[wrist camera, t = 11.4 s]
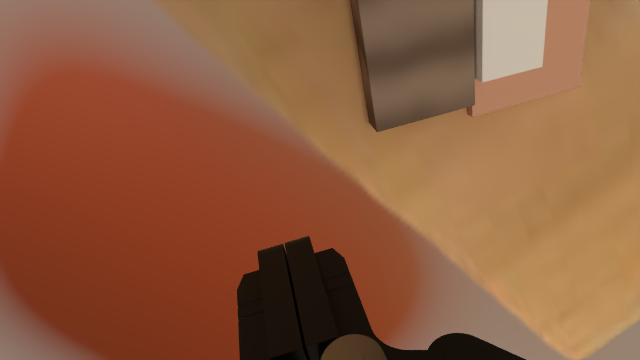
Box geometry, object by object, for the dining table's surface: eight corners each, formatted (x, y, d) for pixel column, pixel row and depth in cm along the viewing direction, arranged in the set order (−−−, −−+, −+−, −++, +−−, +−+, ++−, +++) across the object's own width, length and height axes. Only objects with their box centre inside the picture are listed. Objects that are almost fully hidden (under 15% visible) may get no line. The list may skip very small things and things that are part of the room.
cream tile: (467, -26, 37) (482, -24, 34) (532, -41, 37) (551, -41, 35) (468, 75, 41) (482, 82, 39) (526, 60, 42) (542, 66, 39)
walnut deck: (346, -29, 35) (353, -27, 33) (458, -57, 36) (473, -57, 34) (369, 122, 43) (377, 132, 40) (462, 96, 43) (475, 105, 41)
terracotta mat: (463, -86, 35) (469, -86, 34) (595, -118, 36) (604, -119, 35) (467, 113, 44) (472, 117, 44) (573, 84, 45) (579, 87, 44)
